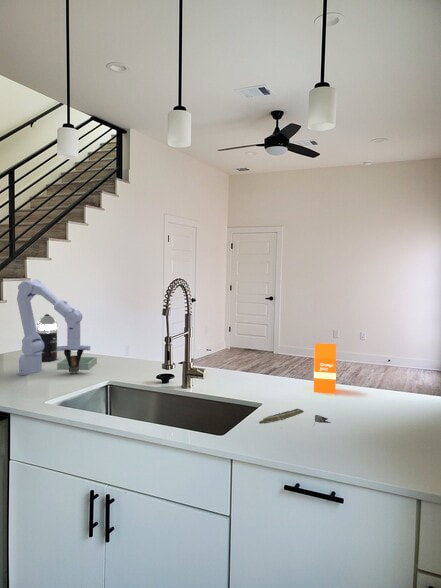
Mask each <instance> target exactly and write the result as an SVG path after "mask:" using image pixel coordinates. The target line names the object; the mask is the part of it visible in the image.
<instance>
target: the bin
mask: <svg viewBox="0 0 441 588" xmlns="http://www.w3.org/2000/svg"><path fill="white" fill-rule="evenodd" d="M97 361H98V357H97V356H81V358H80V362H79V371H80V370H84V371H85V370H90V369H91V368H93V366H95V365H97V363H98V362H97ZM69 367H70V366H69V365H68V361H67V358H66V357H65V358H63V359H62V360H60V361H58V362H56V369H57V370H69Z"/></svg>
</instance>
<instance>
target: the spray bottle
mask: <svg viewBox="0 0 441 588" xmlns="http://www.w3.org/2000/svg"><path fill="white" fill-rule="evenodd" d="M36 330H37V333H38V334H39V335H40V336H41V339H42V341H43V342H44V349H43V351H42V362H53V361H56V360H57V359H58V351H57V347H58V323H57V320H56V319H55V318H54V317H53V316H51V315H50V314H49V313H46V314H44V315H43V316H42V317H41V318H40V319H38V321H37V324H36Z"/></svg>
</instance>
